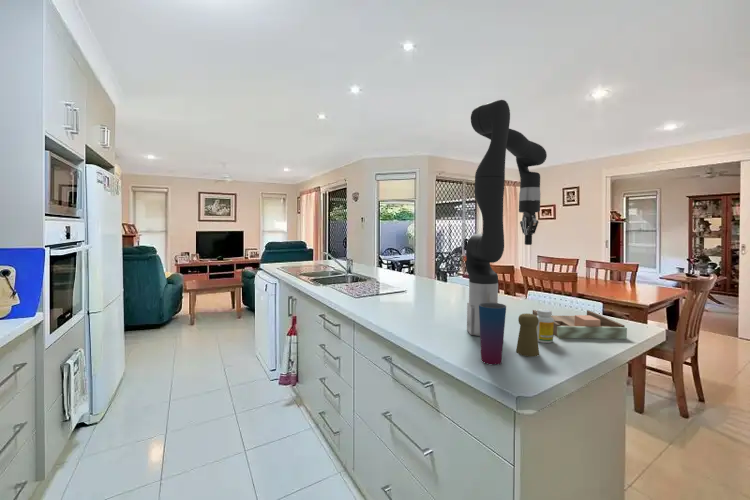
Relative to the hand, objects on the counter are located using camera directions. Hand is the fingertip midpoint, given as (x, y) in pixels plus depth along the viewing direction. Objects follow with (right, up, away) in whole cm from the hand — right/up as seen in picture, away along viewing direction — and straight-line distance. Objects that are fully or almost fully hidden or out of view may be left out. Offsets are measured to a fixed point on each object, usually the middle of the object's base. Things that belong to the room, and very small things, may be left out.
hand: (528, 244), depth 134 cm
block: (+11, -28, -20) cm, 36 cm away
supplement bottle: (-7, -31, -26) cm, 41 cm away
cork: (-17, -31, -37) cm, 51 cm away
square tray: (+10, -30, -14) cm, 34 cm away
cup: (-29, -32, -43) cm, 61 cm away
